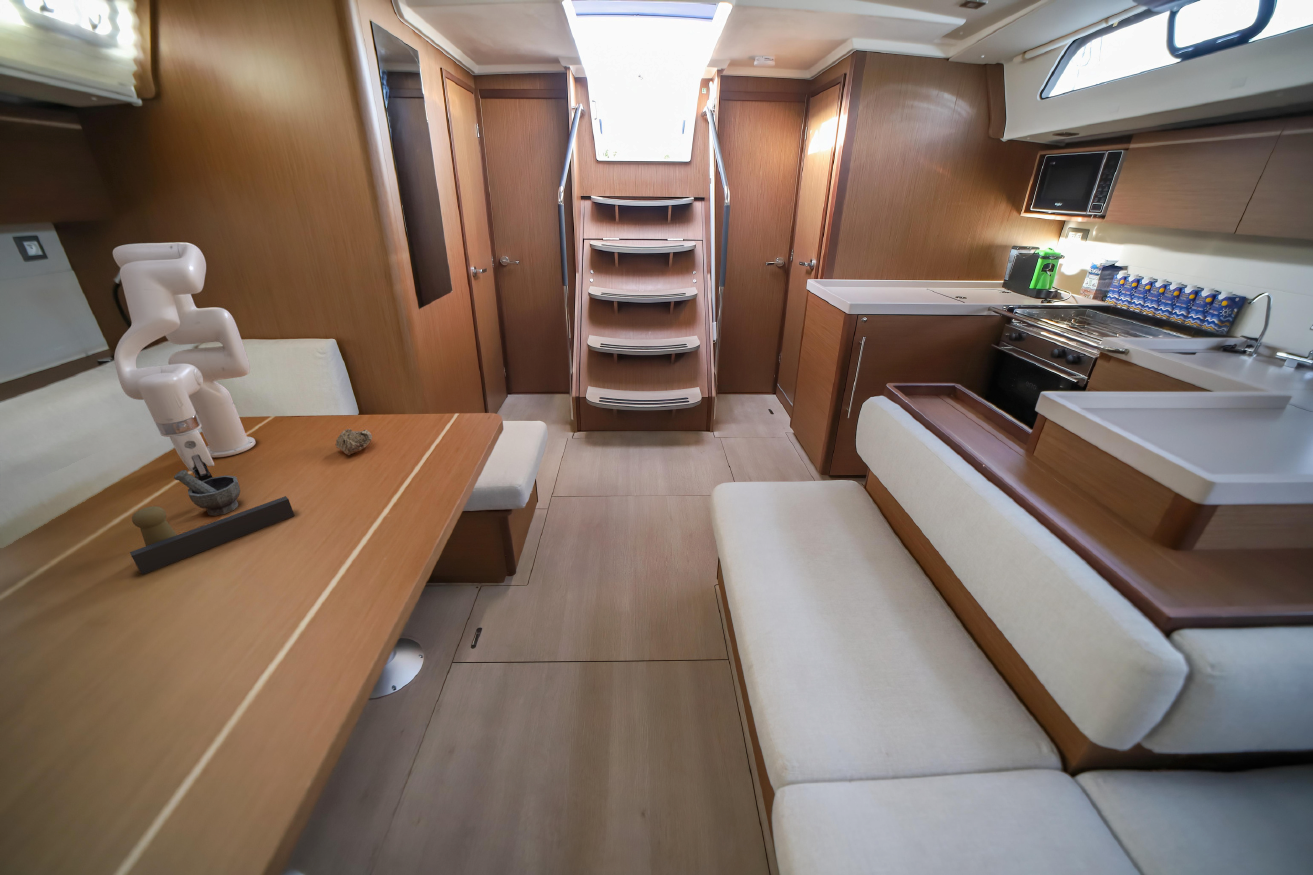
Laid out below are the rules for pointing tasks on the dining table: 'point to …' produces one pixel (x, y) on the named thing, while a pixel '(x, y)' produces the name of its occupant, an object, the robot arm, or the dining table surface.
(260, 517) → the backstop rail
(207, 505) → the mortar and pestle
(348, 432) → the rough grey rock
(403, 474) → the dining table surface
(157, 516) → the cork
